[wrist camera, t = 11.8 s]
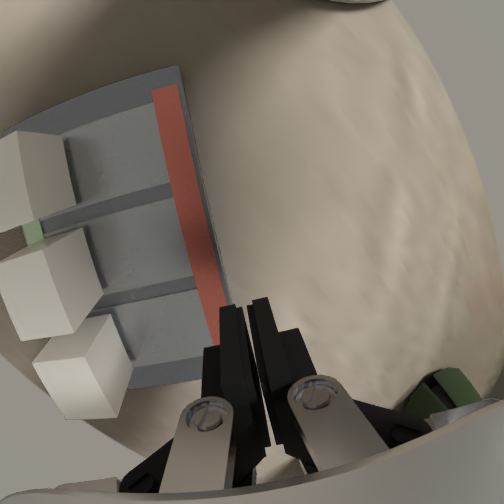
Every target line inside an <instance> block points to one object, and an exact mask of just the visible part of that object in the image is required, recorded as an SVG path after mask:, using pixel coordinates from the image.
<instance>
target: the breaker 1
mask: <svg viewBox="0 0 504 504" xmlns="http://www.w3.org/2000/svg"><path fill="white" fill-rule="evenodd" d="M75 205H76V201H75V197H74V192H73V188H72V184H71V179H70V175H69V170H68V165H67V160H66V155H65V150H64V144H63V138H62V136H59V135H51V134H43V133H35V132H26V131H15V132H13V133H11V134H9V135H7V136H5V137H3V138H2V139H0V233H2V232H5V231H7V230H10V229H12V228H15V227H18V226H20V225H23V224H26V223H28V222H31V221H34V220H36V219H39V218H42V217H44V216H47V215H50V214H52V213H55V212H58V211H61V210H63V209H66V208H69V207H72V206H75Z"/></svg>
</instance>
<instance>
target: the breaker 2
mask: <svg viewBox="0 0 504 504" xmlns="http://www.w3.org/2000/svg"><path fill="white" fill-rule="evenodd" d="M0 293H1V296H2V298H3V301H4V303H5V306H6V308H7V311H8V313H9V316H10V318H11V320H12V322H13V325H14V327H15V329H16V331H17V333H18V336H19V338H20V340H21V341H27V340H34V339H41V338H47V337H54V336H60V335H66V334H73V333H75V331H76V330H77V329H78V327H79V326H80V325H81V323H82V322H83V320H84V319H85V318H86V316H87V315H88V314H89V312H90V311H91V310H92V308H93V307H94V306H95V304H96V303H97V302H98V301H99V299H100V298H101V297H102V295H103V294H104V293H103V290H102V288H101V285H100V282H99V279H98V276H97V273H96V270H95V267H94V264H93V261H92V258H91V254H90V251H89V248H88V245H87V241H86V238H85V234H84V231H83V227H82V228H79V229H75V230H72V231H69V232H65V233H62V234H59V235H56V236H53V237H49V238H46V239H43V240H40V241H37V242H34V243H33V244H31V245H29V246H27V247H25V248H23V249H21V250H19V251H17V252H16V253H14V254H12V255H10V256H8V257H7V258H5V259H3V260H1V261H0Z"/></svg>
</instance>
